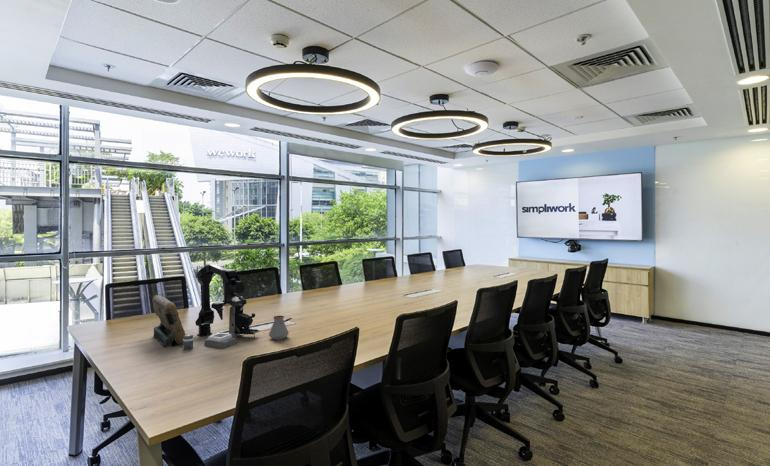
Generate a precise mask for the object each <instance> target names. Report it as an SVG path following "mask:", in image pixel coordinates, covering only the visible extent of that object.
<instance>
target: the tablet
mask: <svg viewBox="0 0 770 466" xmlns="http://www.w3.org/2000/svg"><path fill="white" fill-rule="evenodd" d="M152 307H153V310H154V314H155V316H156V317H158V319H159V321H160V322H159V325H157V326H154V327H153V337H154V338H155V339H156V340H157V341H158V342H159V343H160V344H161V345H162V346H163V347H165V348H171V347H172V346H173V342H174V341H175V343H176V344H177V345H178V346H183V336H184V335H187V334H186V331H185V330H184V327H183V323H182V321H181V319H180V315H179V312H178V309H177V306H176V304H175V303H174V302H172V301H170V300H169V299H167V298H165V297H164V296H162V295H161V294H155V295H154V296H153V297H152Z"/></svg>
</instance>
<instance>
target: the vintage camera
mask: <svg viewBox="0 0 770 466" xmlns="http://www.w3.org/2000/svg"><path fill="white" fill-rule="evenodd" d="M228 313H229V315H228V316H229V317H228V318H229V319H228V334H232V337H233V338H237V337H239V336H240V335H241V336H242V335H251V336H252V335H253V338H254V339H255V338H256V336H255V334H256V333H258V332H260V331H261V330H259V329H255V328H254V329H253V328H250V326H251V325H252V324H253V322H254V319H253V318H255V317H256V313H254V312H253V313H251V315H250V314H247V313H244V306H243V307H242V308H241V309H240V312H239V314H238V317H236V313H235V306H234V307H233V306H231V305H230V307H229V312H228Z"/></svg>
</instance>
